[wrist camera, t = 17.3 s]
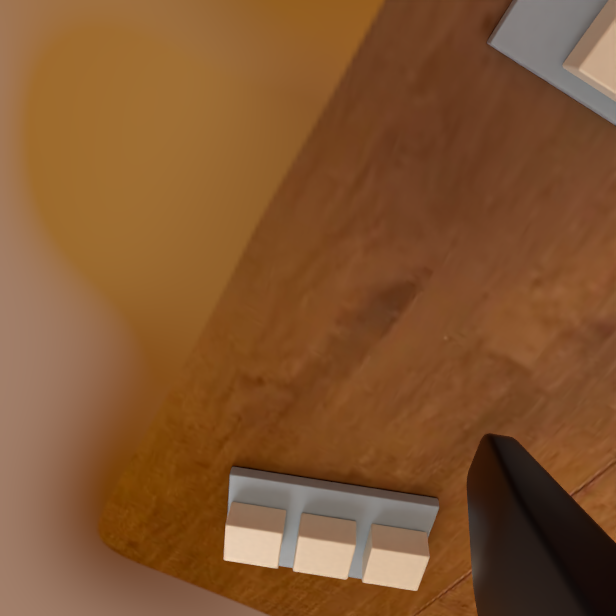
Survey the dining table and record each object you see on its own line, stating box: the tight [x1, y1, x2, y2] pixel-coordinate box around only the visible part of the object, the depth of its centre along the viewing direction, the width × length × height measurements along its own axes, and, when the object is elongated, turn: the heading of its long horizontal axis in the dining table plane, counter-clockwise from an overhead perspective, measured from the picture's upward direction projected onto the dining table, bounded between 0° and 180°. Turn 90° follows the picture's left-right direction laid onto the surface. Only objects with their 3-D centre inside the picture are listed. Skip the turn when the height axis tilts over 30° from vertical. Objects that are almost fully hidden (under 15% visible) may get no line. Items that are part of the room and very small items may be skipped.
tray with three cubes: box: [224, 467, 439, 591], centre depth 28 cm, size 11×7×2 cm, turn 83°
